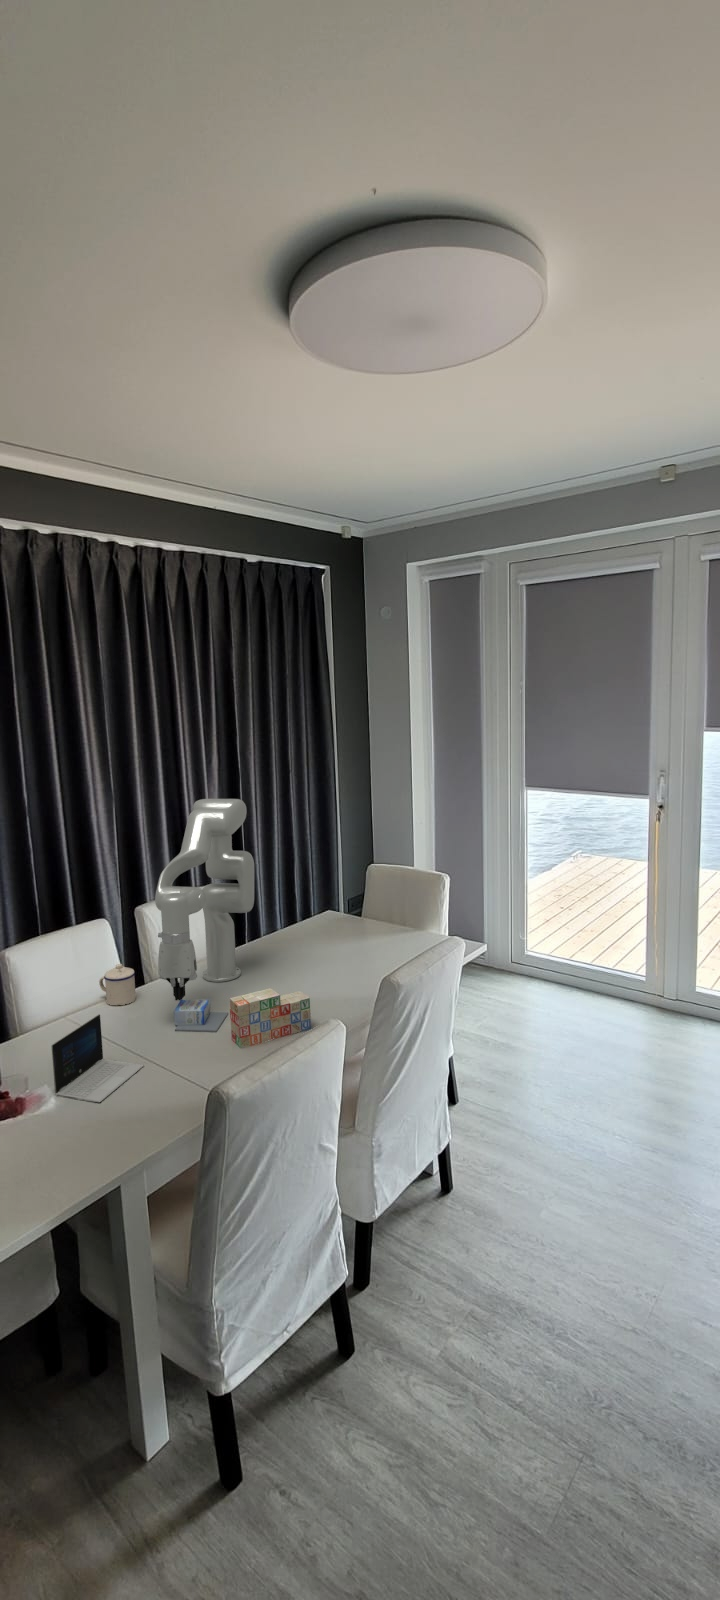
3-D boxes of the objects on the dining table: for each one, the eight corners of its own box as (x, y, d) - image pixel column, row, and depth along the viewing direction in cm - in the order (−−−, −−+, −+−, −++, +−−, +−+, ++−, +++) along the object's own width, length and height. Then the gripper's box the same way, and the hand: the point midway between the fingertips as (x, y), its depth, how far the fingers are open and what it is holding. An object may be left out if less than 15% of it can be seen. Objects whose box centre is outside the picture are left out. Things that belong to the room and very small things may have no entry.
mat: (188, 1013, 220) (188, 1011, 220) (228, 1013, 219) (228, 1012, 219) (174, 1031, 208) (174, 1029, 208) (216, 1032, 207) (216, 1030, 207)
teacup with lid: (142, 996, 233) (140, 961, 231) (124, 1008, 224) (122, 971, 223) (110, 992, 237) (107, 957, 235) (91, 1003, 228) (89, 967, 226)
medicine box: (180, 999, 218) (209, 998, 218) (181, 1013, 219) (210, 1013, 218) (173, 1010, 210) (204, 1010, 210) (174, 1025, 211) (204, 1025, 211)
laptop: (99, 1104, 172) (96, 1051, 170) (54, 1097, 175) (50, 1045, 174) (144, 1067, 189) (141, 1018, 187) (102, 1061, 192) (98, 1013, 191)
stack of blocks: (301, 1021, 213) (300, 980, 212) (311, 1029, 208) (310, 987, 206) (231, 1040, 202) (229, 997, 201) (239, 1049, 197) (237, 1005, 195)
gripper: (145, 940, 208) (149, 1003, 210) (197, 941, 206) (200, 1004, 209) (155, 932, 215) (159, 992, 218) (206, 933, 214) (209, 994, 216)
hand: (179, 998), depth 213 cm, fingers closed
